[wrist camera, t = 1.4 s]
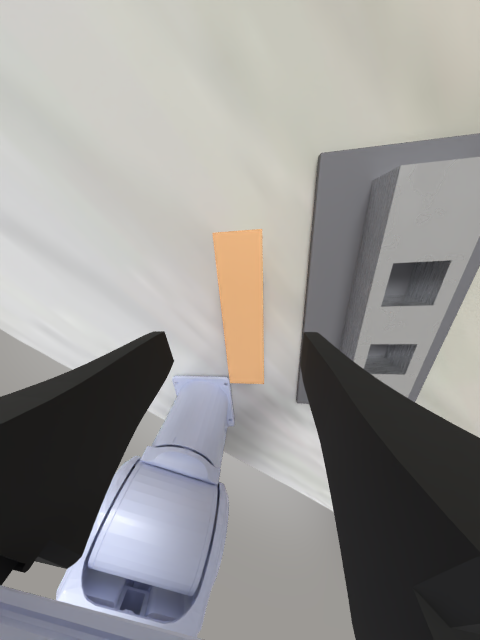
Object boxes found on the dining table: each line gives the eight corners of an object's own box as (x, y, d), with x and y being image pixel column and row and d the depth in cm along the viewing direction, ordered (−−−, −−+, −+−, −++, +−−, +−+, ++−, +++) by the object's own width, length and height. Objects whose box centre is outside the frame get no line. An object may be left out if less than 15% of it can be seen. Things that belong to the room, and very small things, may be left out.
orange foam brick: (262, 343, 21) (263, 383, 15) (238, 343, 22) (229, 382, 16) (261, 232, 16) (262, 228, 10) (229, 235, 17) (212, 232, 11)
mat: (408, 403, 23) (412, 407, 22) (296, 399, 24) (297, 403, 24) (533, 130, 12) (546, 125, 11) (318, 156, 14) (321, 153, 13)
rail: (381, 394, 22) (399, 416, 19) (330, 393, 23) (340, 414, 20) (462, 171, 13) (516, 152, 10) (372, 180, 14) (400, 165, 11)
